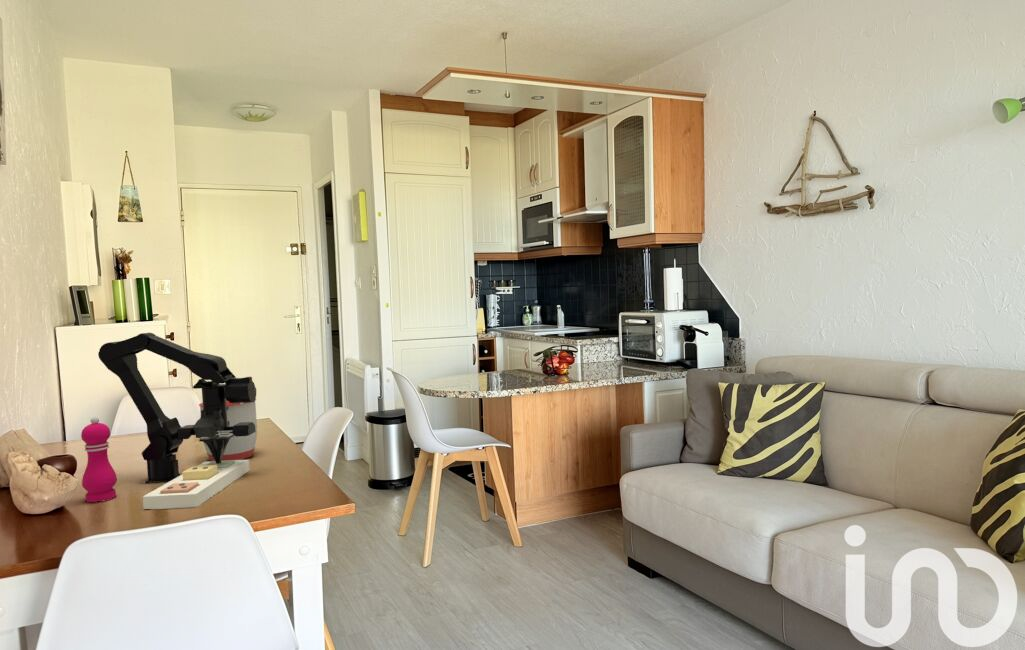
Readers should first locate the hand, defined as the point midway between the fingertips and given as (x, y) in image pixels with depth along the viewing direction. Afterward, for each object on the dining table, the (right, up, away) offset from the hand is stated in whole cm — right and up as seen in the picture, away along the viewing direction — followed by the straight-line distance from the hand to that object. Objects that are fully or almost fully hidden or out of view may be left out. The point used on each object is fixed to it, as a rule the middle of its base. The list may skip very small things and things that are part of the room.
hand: (218, 462), depth 182 cm
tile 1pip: (0, -2, 0) cm, 3 cm away
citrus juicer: (-5, -3, +22) cm, 23 cm away
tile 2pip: (0, -2, -11) cm, 11 cm away
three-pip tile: (0, -3, -22) cm, 22 cm away
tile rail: (0, -4, -11) cm, 12 cm away
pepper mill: (-21, -6, -16) cm, 27 cm away
